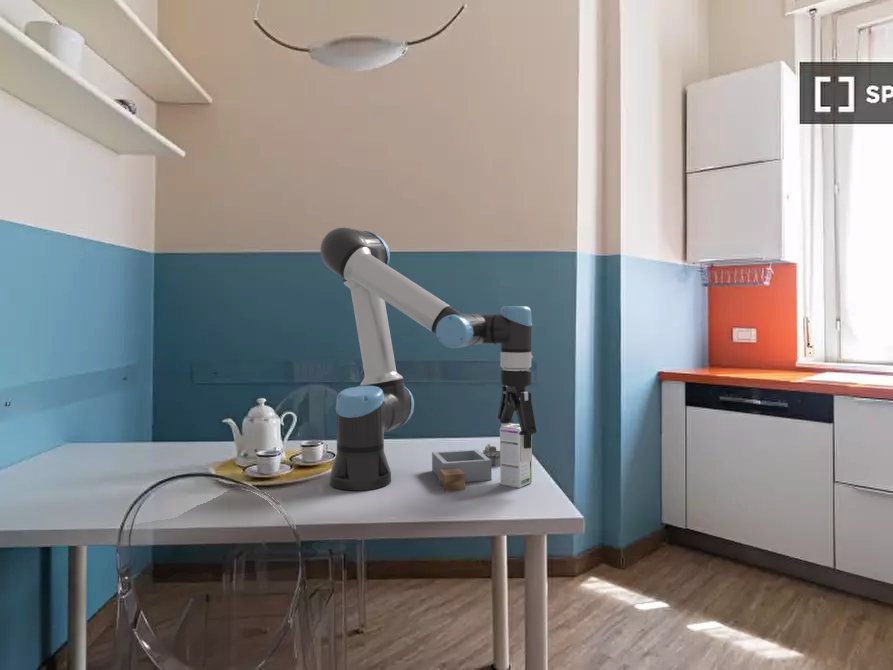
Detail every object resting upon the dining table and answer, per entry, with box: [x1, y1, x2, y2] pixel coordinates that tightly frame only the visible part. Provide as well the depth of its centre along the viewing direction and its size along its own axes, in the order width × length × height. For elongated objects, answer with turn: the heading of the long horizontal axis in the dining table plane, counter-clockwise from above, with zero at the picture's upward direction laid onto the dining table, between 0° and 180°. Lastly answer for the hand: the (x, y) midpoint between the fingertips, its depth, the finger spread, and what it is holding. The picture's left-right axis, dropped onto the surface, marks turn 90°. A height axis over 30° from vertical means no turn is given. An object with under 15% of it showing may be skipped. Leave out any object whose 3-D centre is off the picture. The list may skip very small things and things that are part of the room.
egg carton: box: [481, 443, 500, 467], centre depth 180 cm, size 11×8×4 cm
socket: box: [431, 448, 492, 483], centre depth 165 cm, size 12×12×5 cm
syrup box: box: [499, 423, 533, 489], centre depth 157 cm, size 6×6×14 cm
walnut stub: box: [439, 469, 466, 492], centre depth 154 cm, size 5×5×4 cm
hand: (515, 454), depth 157 cm, fingers open, 13 cm apart
